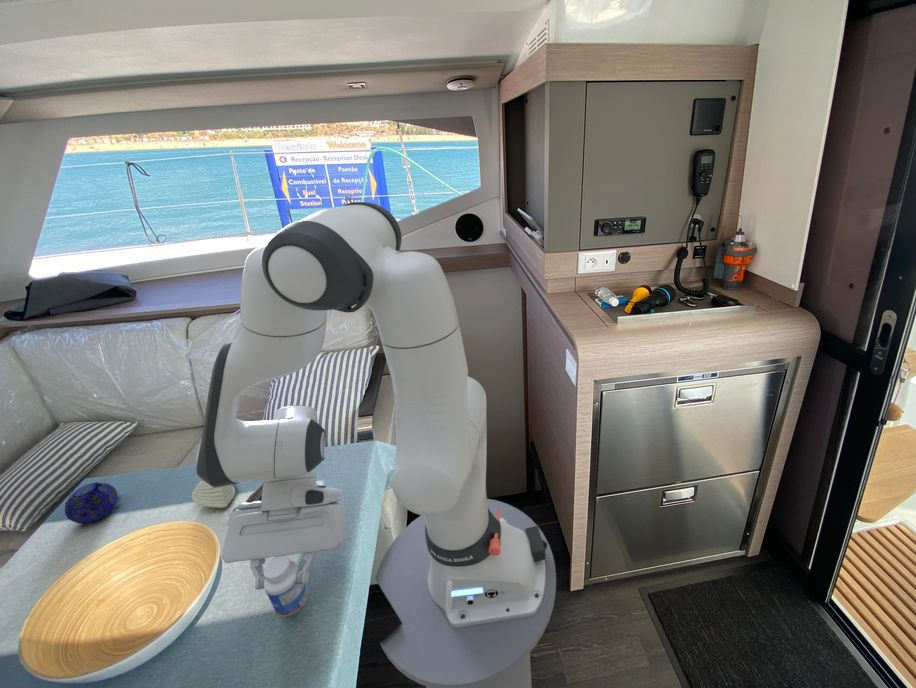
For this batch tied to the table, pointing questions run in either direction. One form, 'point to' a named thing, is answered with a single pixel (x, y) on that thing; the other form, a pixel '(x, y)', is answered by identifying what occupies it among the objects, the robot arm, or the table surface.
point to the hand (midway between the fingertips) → (282, 585)
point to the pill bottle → (284, 586)
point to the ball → (91, 502)
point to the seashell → (213, 495)
